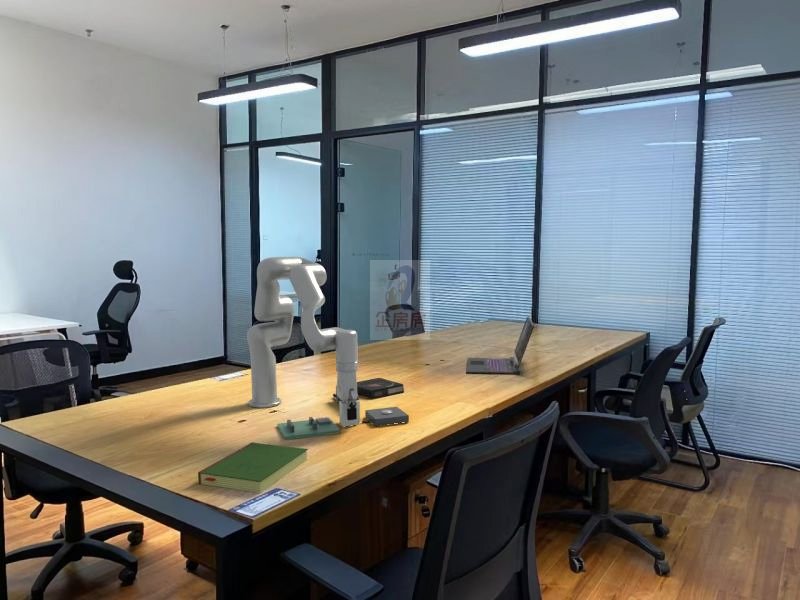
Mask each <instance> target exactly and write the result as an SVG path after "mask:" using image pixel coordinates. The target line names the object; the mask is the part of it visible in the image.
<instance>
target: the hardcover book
mask: <svg viewBox="0 0 800 600" xmlns="http://www.w3.org/2000/svg"><path fill="white" fill-rule="evenodd" d="M308 450H309V449H308V448H303V447H302V448H301V447H295V446H286V445H279V444H268V443H261V442H250V443H248V444H247V445H245V446H242V447H241V448H239V449H237V450H235V451H234V452H232V453H229V455H226V456H225V457H223V458H221V459H219V460H217V461H216V462H214V463H211V465H208V466H206V467H205V468H203V469H201V470H200V471H198V472H197V478H198V485H205V486H211V487H217V488H219V487H220V488H224V489H230V490H237V491H244V492H251V493H256V494H261V493H262V492H264V491H266V490H267V489H268V488H270V487H271V486H272V485H274V484H275V483H277V482H278V481H279V480H281V479H283V478H284V477H285V476H286V475H288V474H289V473H291V472H292V471H294V470H295V469H297V468H298V467H300V465H302V464H304V463H305V462H306V461H307V460H308V455H307V454H308V453H307V451H308Z"/></svg>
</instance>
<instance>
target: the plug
mask: <svg viewBox="0 0 800 600" xmlns="http://www.w3.org/2000/svg"><path fill="white" fill-rule="evenodd" d="M360 402H361V401H360V399H359V400H357V401H356V403H357V404H356V405H357V419H356V420H347V408H348V405H347V401H345V402H343V401H339V403H338V405H339V406H338V407H339V410H338V411H339V425H340V424H341V425H342V426H343V427H342V426H341V425H340V426H341V427H342V428H345V427H344V426H349V427H352V426H351V425H357V426H358V425H360V424H361V409H360V408H361V405H360ZM349 403H351V402H349ZM359 423H360V424H359Z"/></svg>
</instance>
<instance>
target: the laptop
mask: <svg viewBox="0 0 800 600" xmlns="http://www.w3.org/2000/svg"><path fill="white" fill-rule="evenodd" d="M534 328H535V323H534V322H533V321H532V319H531V318H530V317H529V315H528V316H527V317H526V319H525V322H524V325H523V326H522V331H521V332H520V334H519V338H518V341H517V343H516V345H515V348H514V351H513V354H512V356H510V357H509V358H507V357H506V358H505V357H500V358H499V357H467V366H466V374H477V375H478V374H479V375H481V374H482V375H512V376H513V375H514V376H515V375H517V376H518V375H519V376H520V375H521V374H522V368H520V365H521V363H522V361H523V358H524V356H525V352H526V349H527V347H528V344H529V341H530V340H531V336H532V334H533V331H534Z"/></svg>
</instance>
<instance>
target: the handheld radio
mask: <svg viewBox="0 0 800 600" xmlns="http://www.w3.org/2000/svg"><path fill="white" fill-rule="evenodd" d="M359 396H360V395H357V400H359V401H360V397H359ZM332 397H334V398H335V401H336V402H337V403H338V404H339V401H340V398H339V397H338V396H337V385H336V386H335V393H333V394H332ZM351 399H352V398H351ZM357 400H356V401H357Z"/></svg>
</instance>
